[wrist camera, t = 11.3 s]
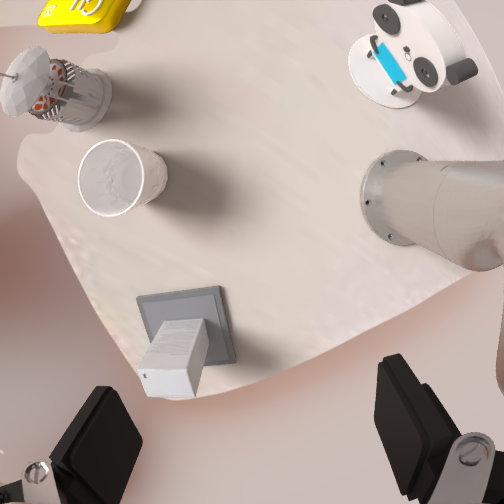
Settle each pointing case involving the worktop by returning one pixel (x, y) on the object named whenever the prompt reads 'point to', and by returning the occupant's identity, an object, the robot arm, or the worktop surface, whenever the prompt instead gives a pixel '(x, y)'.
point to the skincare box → (175, 359)
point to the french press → (55, 90)
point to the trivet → (191, 307)
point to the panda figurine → (408, 54)
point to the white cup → (120, 177)
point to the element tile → (82, 15)
